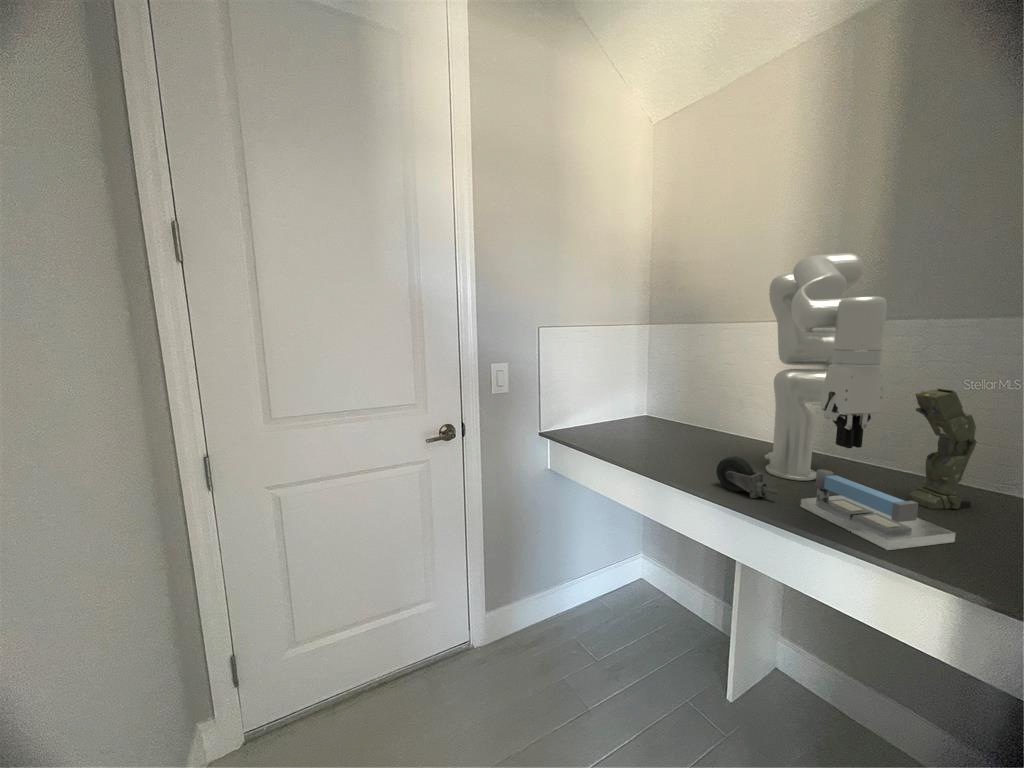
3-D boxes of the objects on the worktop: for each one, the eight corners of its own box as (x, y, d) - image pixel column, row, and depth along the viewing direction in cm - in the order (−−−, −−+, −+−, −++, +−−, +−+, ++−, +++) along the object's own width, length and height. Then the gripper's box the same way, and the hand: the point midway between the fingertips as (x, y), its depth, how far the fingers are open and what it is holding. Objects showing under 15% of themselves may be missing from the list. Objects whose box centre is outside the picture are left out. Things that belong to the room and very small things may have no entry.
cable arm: (809, 485, 99) (811, 470, 98) (825, 484, 100) (826, 468, 99) (897, 523, 79) (899, 504, 79) (916, 521, 80) (918, 502, 80)
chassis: (799, 506, 99) (801, 488, 98) (855, 500, 101) (857, 483, 100) (887, 550, 79) (890, 528, 78) (954, 542, 81) (957, 520, 81)
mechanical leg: (958, 493, 102) (944, 380, 98) (992, 505, 95) (980, 384, 91) (906, 507, 102) (890, 395, 98) (936, 520, 95) (921, 400, 91)
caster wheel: (713, 490, 112) (772, 504, 99) (712, 456, 111) (770, 465, 99) (725, 486, 115) (782, 498, 102) (723, 452, 114) (781, 461, 102)
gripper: (870, 356, 86) (862, 439, 89) (806, 358, 84) (800, 443, 86) (909, 358, 79) (899, 448, 81) (840, 361, 77) (832, 454, 79)
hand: (848, 445), depth 84 cm, fingers closed
